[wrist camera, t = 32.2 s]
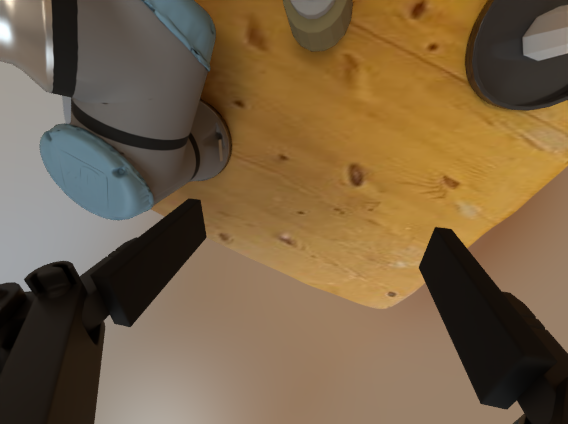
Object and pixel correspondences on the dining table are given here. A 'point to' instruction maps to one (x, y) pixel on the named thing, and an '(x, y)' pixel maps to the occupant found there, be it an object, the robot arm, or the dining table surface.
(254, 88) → the dining table surface
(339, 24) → the squeeze bottle
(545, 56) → the salt shaker
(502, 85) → the pan
